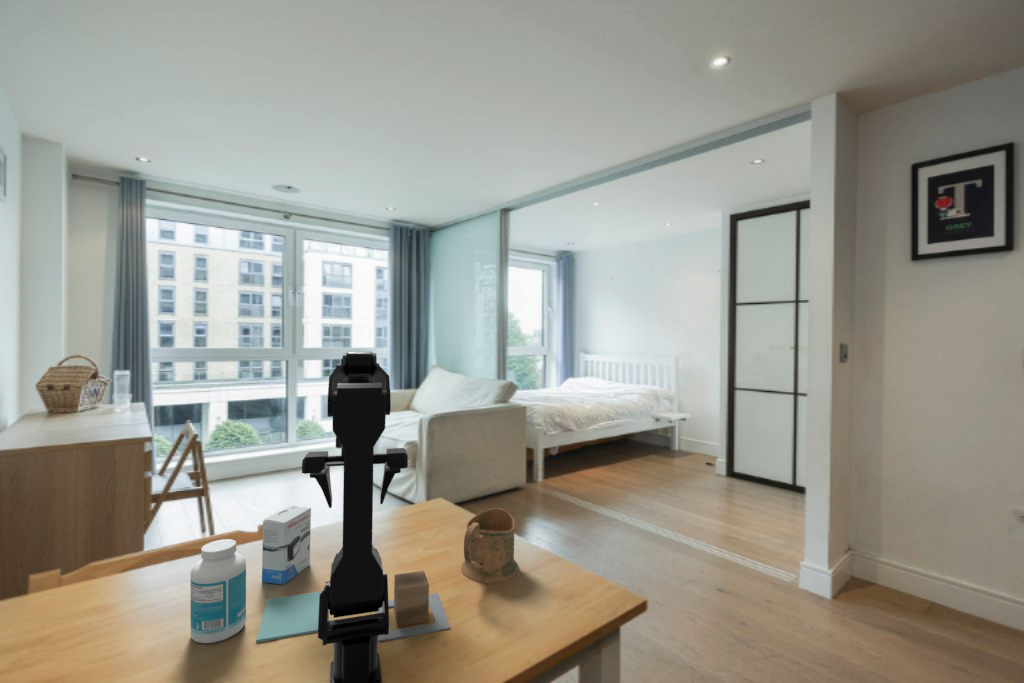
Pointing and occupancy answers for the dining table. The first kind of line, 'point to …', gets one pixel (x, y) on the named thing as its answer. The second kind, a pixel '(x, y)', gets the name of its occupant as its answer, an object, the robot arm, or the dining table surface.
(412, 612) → the block
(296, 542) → the ink box
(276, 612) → the mat
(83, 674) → the dining table surface
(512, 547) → the mug
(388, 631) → the robot arm
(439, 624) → the frame
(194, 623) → the pill bottle
